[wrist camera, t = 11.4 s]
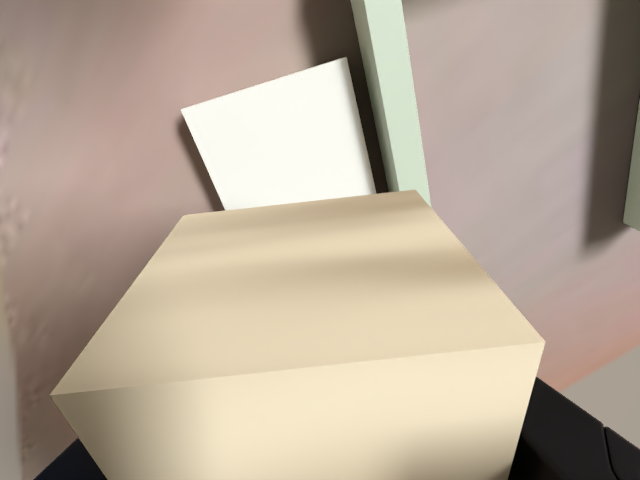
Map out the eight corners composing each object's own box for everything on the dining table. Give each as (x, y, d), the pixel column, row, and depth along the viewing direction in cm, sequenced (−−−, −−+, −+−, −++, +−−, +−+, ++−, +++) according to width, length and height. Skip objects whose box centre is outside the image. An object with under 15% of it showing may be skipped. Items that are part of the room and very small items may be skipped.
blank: (183, 214, 7) (48, 395, 4) (415, 189, 7) (545, 341, 3) (253, 441, 11) (227, 652, 7) (408, 424, 11) (466, 628, 7)
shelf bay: (338, -55, 13) (348, -85, 11) (713, -186, 12) (828, -255, 9) (406, 278, 20) (421, 311, 18) (645, 216, 19) (701, 241, 17)
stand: (191, 105, 16) (180, 109, 14) (342, 57, 15) (346, 57, 14) (267, 283, 20) (264, 299, 19) (386, 251, 19) (392, 265, 18)
